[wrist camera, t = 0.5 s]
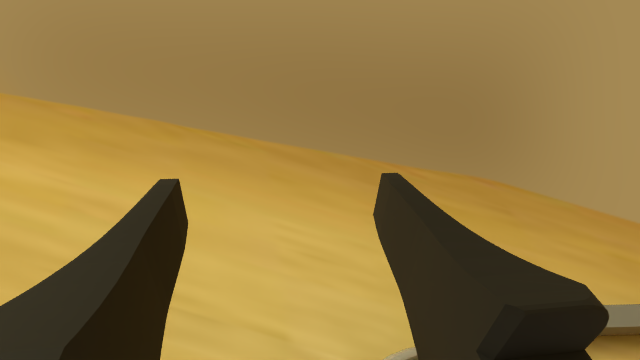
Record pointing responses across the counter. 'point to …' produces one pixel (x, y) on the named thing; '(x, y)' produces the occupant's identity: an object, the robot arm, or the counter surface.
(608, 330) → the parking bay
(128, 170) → the counter surface
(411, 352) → the food container
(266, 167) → the counter surface
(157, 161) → the counter surface
